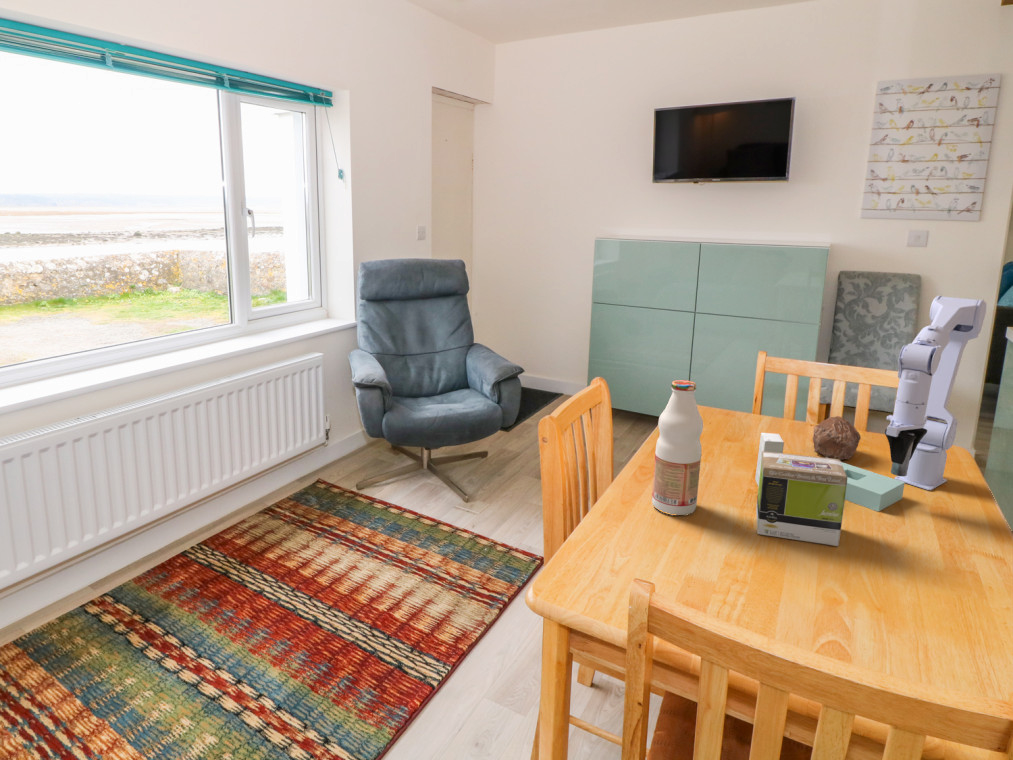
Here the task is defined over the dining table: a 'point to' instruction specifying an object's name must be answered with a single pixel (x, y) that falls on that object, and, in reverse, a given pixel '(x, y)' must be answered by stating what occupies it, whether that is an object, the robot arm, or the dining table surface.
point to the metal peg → (903, 468)
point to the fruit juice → (678, 452)
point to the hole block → (871, 488)
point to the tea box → (801, 497)
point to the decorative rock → (836, 438)
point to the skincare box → (768, 448)
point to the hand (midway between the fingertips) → (900, 460)
